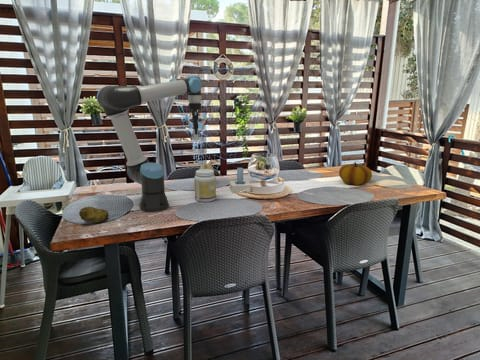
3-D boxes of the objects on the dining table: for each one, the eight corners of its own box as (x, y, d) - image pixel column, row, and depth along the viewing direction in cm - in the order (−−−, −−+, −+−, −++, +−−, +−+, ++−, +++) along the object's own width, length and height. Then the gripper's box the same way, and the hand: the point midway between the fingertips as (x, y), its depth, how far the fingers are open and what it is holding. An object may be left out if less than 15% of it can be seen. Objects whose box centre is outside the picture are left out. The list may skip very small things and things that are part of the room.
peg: (243, 190, 207) (243, 169, 203) (237, 190, 206) (237, 169, 203) (242, 188, 211) (242, 167, 207) (236, 188, 210) (236, 167, 206)
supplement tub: (220, 198, 191) (219, 170, 187) (206, 204, 182) (206, 174, 177) (204, 194, 198) (203, 167, 194) (190, 199, 188) (189, 171, 184)
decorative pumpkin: (367, 189, 212) (370, 166, 208) (334, 184, 223) (335, 162, 219) (373, 182, 229) (376, 161, 225) (341, 177, 240) (343, 157, 236)
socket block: (251, 192, 204) (251, 185, 203) (232, 192, 202) (232, 185, 201) (247, 186, 215) (247, 180, 214) (229, 187, 213) (229, 180, 212)
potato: (111, 222, 155) (109, 206, 153) (81, 227, 149) (79, 211, 147) (108, 216, 162) (106, 201, 160) (79, 221, 156) (77, 205, 154)
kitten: (204, 179, 231) (204, 159, 227) (217, 181, 228) (217, 160, 224) (195, 185, 217) (194, 163, 213) (209, 186, 214) (208, 164, 210)
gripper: (202, 103, 183) (203, 141, 188) (200, 102, 206) (201, 135, 212) (188, 103, 182) (189, 141, 187) (188, 102, 205) (189, 135, 211)
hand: (195, 138), depth 200 cm, fingers open, 13 cm apart
